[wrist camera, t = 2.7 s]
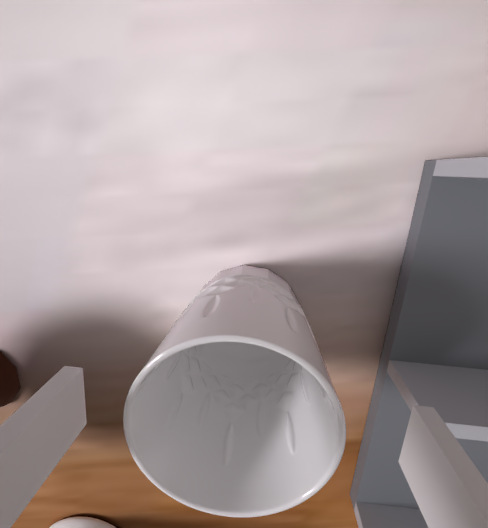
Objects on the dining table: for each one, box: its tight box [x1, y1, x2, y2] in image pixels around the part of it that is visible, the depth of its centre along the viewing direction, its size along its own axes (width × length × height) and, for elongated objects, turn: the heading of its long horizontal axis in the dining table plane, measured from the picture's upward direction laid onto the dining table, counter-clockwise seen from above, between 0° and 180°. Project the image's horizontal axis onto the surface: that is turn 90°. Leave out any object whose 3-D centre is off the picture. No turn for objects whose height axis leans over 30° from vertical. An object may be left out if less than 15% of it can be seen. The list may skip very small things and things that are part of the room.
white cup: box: [123, 265, 346, 517], centre depth 16 cm, size 8×8×10 cm
